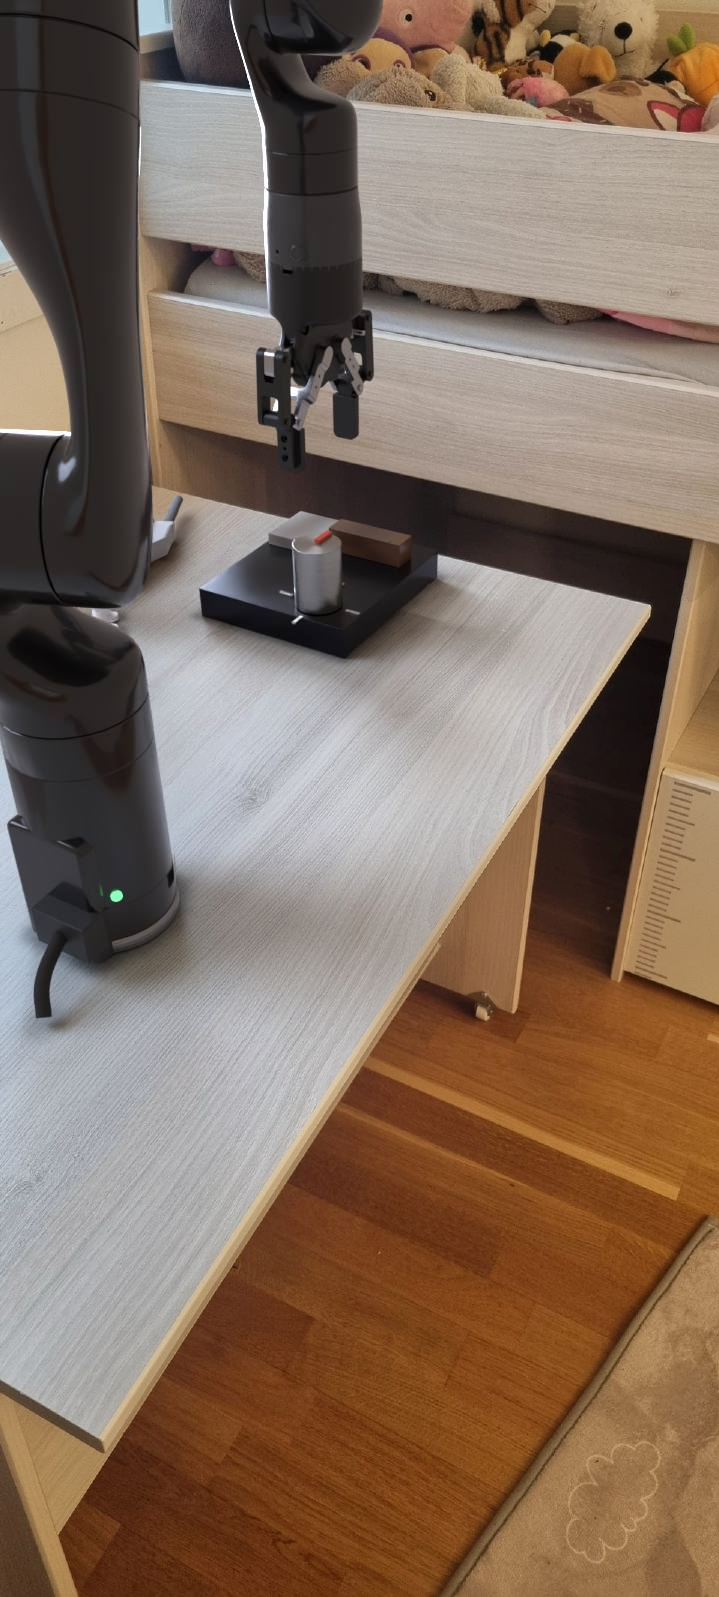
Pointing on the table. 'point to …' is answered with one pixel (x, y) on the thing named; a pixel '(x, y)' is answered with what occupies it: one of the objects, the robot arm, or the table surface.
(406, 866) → the table surface
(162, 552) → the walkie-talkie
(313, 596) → the hob knob
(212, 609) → the hob
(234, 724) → the table surface
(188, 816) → the table surface
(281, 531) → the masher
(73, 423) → the robot arm
